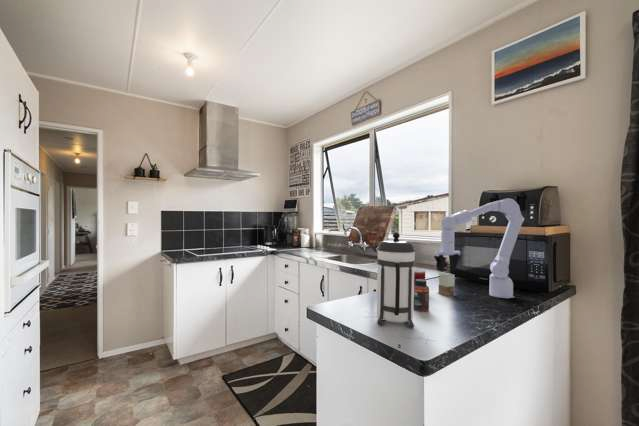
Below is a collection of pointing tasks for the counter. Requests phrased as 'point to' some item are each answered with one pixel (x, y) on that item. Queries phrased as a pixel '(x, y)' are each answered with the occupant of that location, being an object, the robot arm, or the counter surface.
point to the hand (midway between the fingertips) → (447, 270)
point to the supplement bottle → (421, 295)
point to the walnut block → (446, 290)
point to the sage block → (446, 279)
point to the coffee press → (395, 281)
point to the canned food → (419, 274)
